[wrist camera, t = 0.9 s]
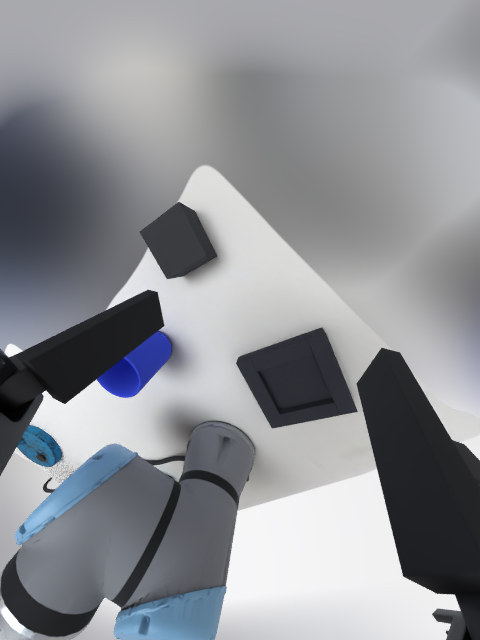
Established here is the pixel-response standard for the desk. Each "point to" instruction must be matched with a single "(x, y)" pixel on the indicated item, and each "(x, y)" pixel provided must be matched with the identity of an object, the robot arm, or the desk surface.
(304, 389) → the base pad
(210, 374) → the desk surface
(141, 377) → the mug
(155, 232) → the dark gray rectangular block
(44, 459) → the desk lamp
